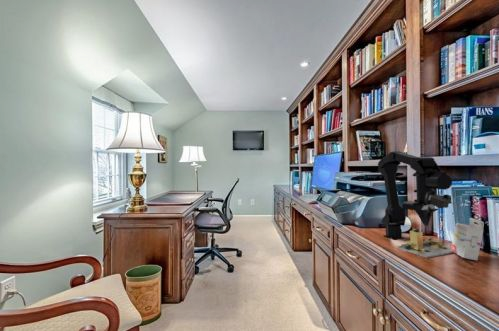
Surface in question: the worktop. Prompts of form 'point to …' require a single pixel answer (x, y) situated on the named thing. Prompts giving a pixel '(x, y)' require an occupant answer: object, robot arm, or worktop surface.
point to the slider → (416, 239)
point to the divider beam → (426, 243)
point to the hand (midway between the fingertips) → (425, 225)
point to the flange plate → (429, 251)
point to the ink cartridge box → (468, 239)
